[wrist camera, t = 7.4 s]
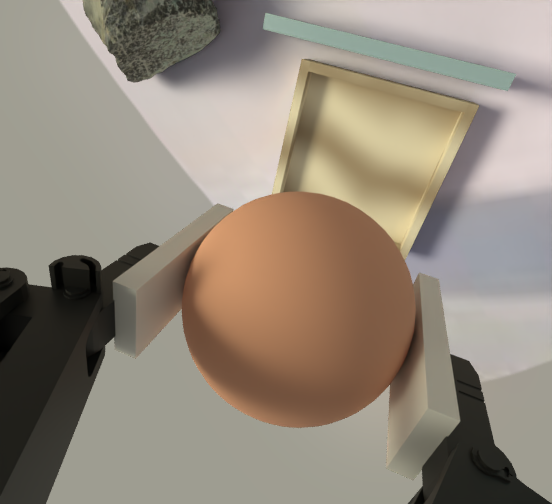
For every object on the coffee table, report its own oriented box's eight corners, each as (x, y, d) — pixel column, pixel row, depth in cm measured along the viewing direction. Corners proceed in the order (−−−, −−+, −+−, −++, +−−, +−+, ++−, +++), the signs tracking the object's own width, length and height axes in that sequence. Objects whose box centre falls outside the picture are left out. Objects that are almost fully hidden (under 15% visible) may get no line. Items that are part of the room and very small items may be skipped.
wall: (281, 18, 29) (265, 12, 25) (501, 72, 26) (516, 73, 22) (279, 32, 29) (262, 29, 26) (494, 87, 26) (507, 90, 23)
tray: (307, 59, 29) (301, 59, 28) (474, 102, 27) (479, 105, 25) (274, 206, 36) (267, 213, 35) (404, 250, 34) (405, 260, 32)
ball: (253, 142, 15) (127, 206, 8) (447, 201, 14) (489, 337, 7) (227, 292, 19) (128, 417, 12) (374, 348, 18) (354, 524, 11)
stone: (120, 84, 24) (67, -116, 20) (99, 86, 32) (57, -58, 27) (245, 71, 29) (225, -97, 24) (199, 75, 36) (177, -51, 32)
